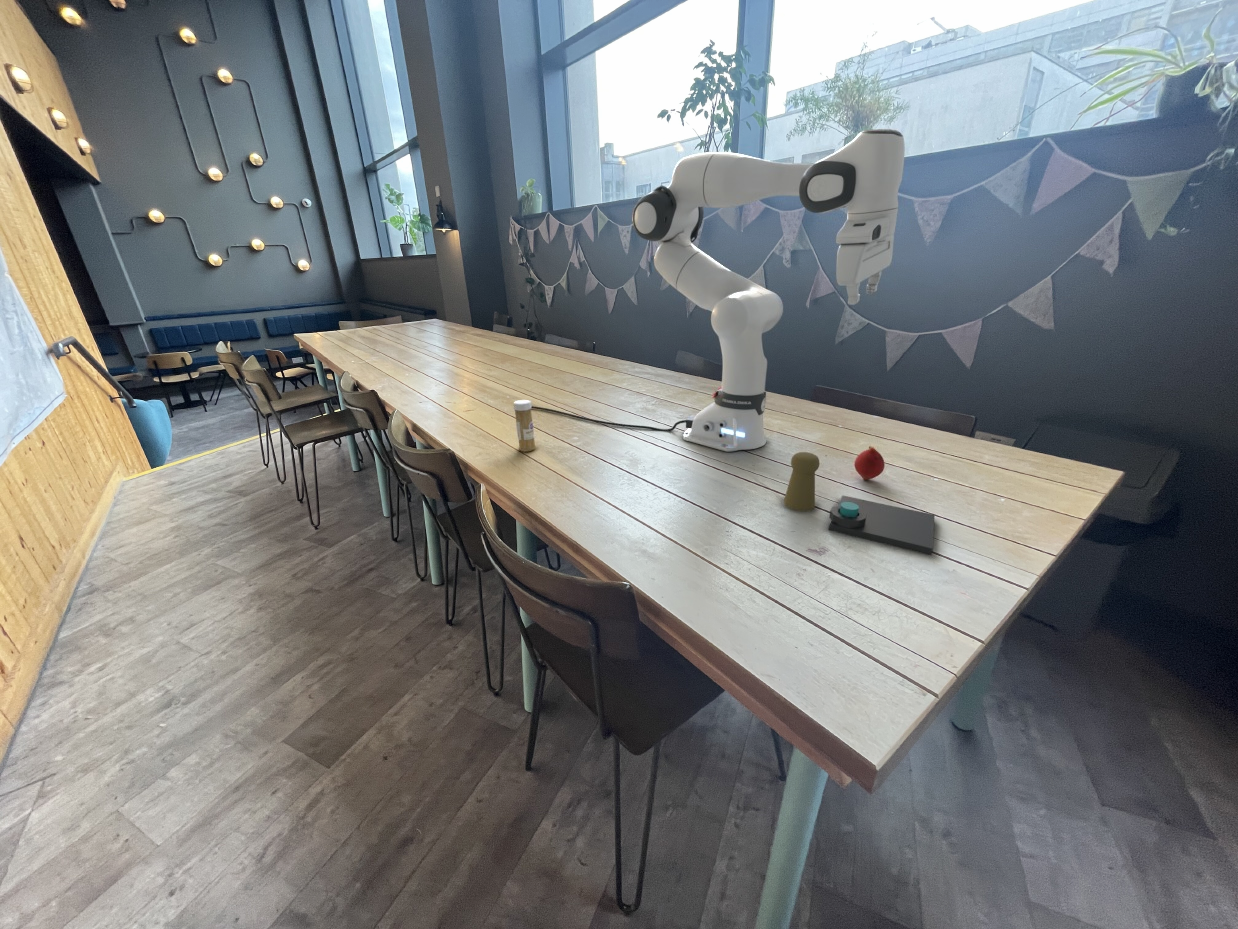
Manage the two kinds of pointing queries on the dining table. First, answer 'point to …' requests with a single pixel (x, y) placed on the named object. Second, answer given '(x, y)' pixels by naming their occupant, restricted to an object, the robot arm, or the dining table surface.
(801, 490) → the cork
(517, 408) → the sprinkles bottle
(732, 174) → the robot arm
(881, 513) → the scale
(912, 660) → the dining table surface
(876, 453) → the onion
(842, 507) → the button
